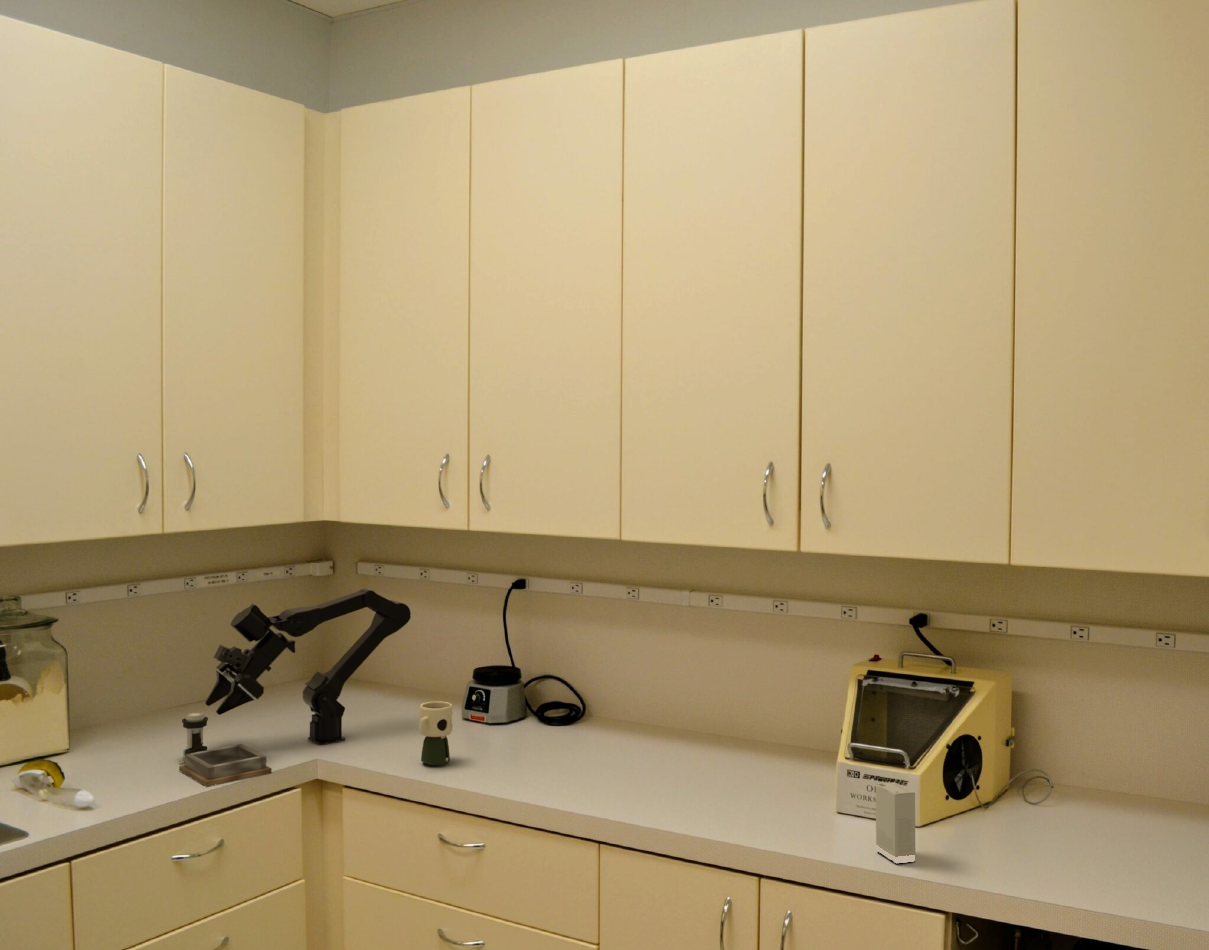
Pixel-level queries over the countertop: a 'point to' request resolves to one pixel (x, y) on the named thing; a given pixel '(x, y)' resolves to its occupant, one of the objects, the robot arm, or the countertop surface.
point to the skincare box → (895, 819)
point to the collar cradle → (224, 765)
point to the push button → (194, 733)
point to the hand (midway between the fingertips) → (211, 709)
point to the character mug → (435, 731)
